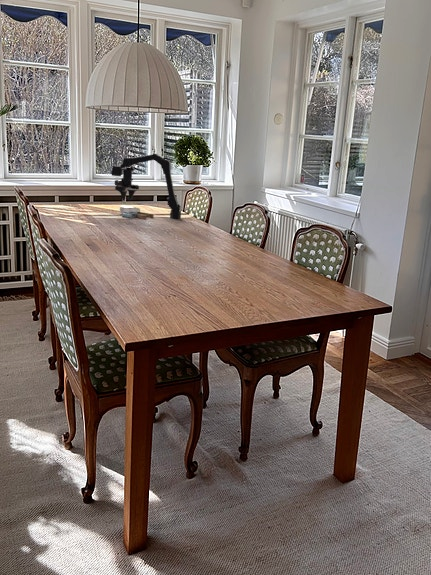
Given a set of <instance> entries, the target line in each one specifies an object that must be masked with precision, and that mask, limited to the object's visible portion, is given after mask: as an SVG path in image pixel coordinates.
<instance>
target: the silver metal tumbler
mask: <svg viewBox="0 0 431 575" xmlns="http://www.w3.org/2000/svg"><path fill="white" fill-rule="evenodd" d="M119 212H120V214H122V213H127V212H130V213H136V214H140V212H141V208H139V207H135V206H129V205H123V204H122V205H120V208H119Z"/></svg>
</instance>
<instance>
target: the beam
mask: <svg viewBox="0 0 431 575" xmlns="http://www.w3.org/2000/svg"><path fill="white" fill-rule="evenodd" d="M129 213H130V212H129ZM134 214H136V213H134ZM120 215H121V216H122V213H120ZM136 219H142V220H148V219H154V213H149V212H143V211H140V214H137V218H136Z"/></svg>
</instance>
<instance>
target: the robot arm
mask: <svg viewBox="0 0 431 575" xmlns="http://www.w3.org/2000/svg"><path fill="white" fill-rule="evenodd" d="M150 161H155V162H156V163H157V164H159V166H160V168H161V169H162V172H163V174H164V178H165V183H166V187H167V194H168V197H167V198H166V202H167V205H168V208H170V212H169V218H170V219H172V220H181V219H182V218H181V217H182V210H181V208H182V206H181V205H180V204H179V201H178V198H177V197H176V193H175V190H174V184H173V179H172V174H171V172H172V163H171V161H170V160H169V159H166V158H163V157H162V156H160V155H159V154H157V153H152V154H149V155H142V156H139V157H126V158H124V159H123V160H122V163H121V165H112V167H111V176H113V177H122V178H121V180H118V179H116V180H114V190H115V191H117V192H119V193H120V196H121V199H122V201H123V202H125V201H126V196H127V192H128V200H129V201H131V200H132V199H133V197H134V195H135V194H136V192H137V190H139V189H140V186H139V185H138V184H132V183H133V180H134V178H133V172H134V171H135V170H136V169H135V168H134V166H135V165H136V164H139V163H140V164H142V163H145V162H150Z"/></svg>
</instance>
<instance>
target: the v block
mask: <svg viewBox="0 0 431 575" xmlns="http://www.w3.org/2000/svg"><path fill="white" fill-rule="evenodd" d="M121 214H122V215H121V217H122V218H128V219H131V220H132V219H138V218H137V214H134V213H129V212H127V213H121Z"/></svg>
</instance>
